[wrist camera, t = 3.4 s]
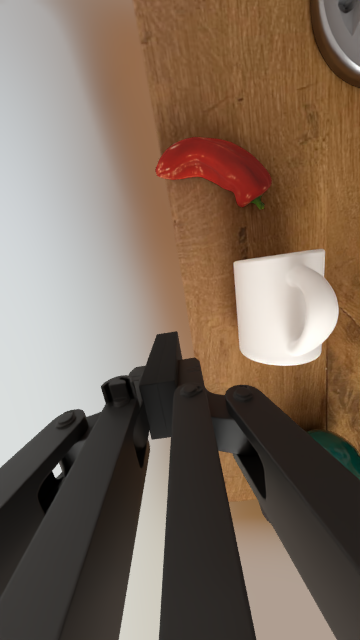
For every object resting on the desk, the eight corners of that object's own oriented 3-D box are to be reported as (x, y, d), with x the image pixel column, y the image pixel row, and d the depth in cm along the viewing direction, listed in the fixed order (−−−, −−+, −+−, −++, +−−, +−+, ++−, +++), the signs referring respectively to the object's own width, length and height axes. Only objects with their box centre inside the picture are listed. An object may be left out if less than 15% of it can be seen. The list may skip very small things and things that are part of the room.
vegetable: (248, 228, 24) (155, 180, 22) (271, 182, 23) (174, 128, 21) (265, 219, 20) (150, 159, 18) (294, 161, 18) (174, 92, 17)
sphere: (301, 409, 30) (343, 459, 22) (347, 427, 30) (403, 481, 23) (274, 449, 32) (303, 508, 24) (317, 465, 32) (360, 527, 25)
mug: (232, 340, 27) (269, 395, 16) (226, 262, 25) (264, 258, 13) (294, 332, 27) (379, 382, 15) (294, 252, 24) (396, 238, 13)
